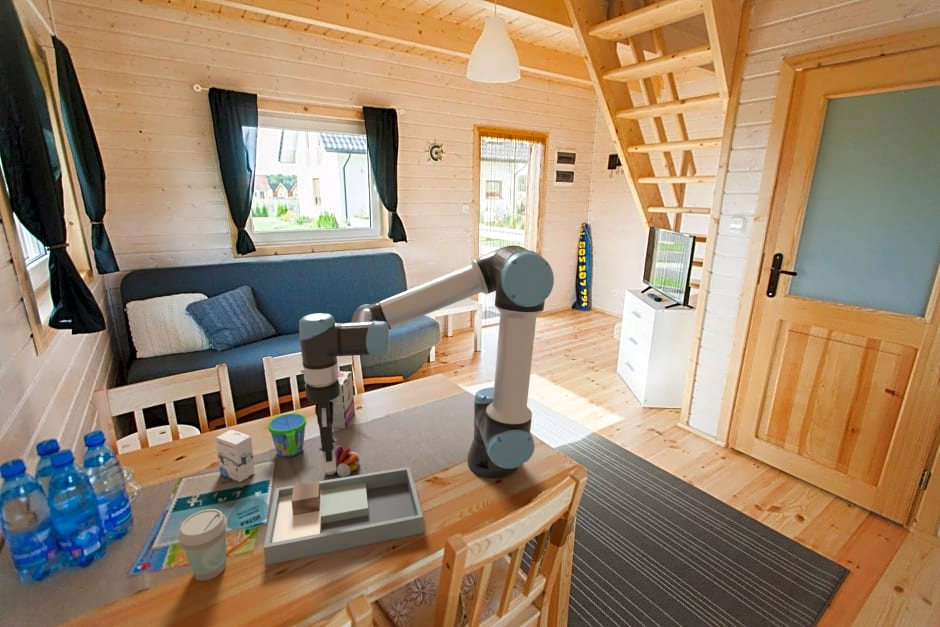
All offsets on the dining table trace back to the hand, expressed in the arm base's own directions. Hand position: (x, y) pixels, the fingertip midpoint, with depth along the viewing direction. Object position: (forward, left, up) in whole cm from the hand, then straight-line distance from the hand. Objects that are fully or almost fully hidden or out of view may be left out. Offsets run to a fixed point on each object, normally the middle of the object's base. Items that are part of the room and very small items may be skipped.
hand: (330, 469), depth 107 cm
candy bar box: (-3, -45, -12) cm, 47 cm away
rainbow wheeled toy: (-2, -17, -12) cm, 20 cm away
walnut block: (+6, 0, -9) cm, 11 cm away
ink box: (+26, -22, -12) cm, 36 cm away
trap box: (-3, +4, -11) cm, 12 cm away
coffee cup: (+25, +12, -12) cm, 30 cm away
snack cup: (+13, -30, -12) cm, 35 cm away
